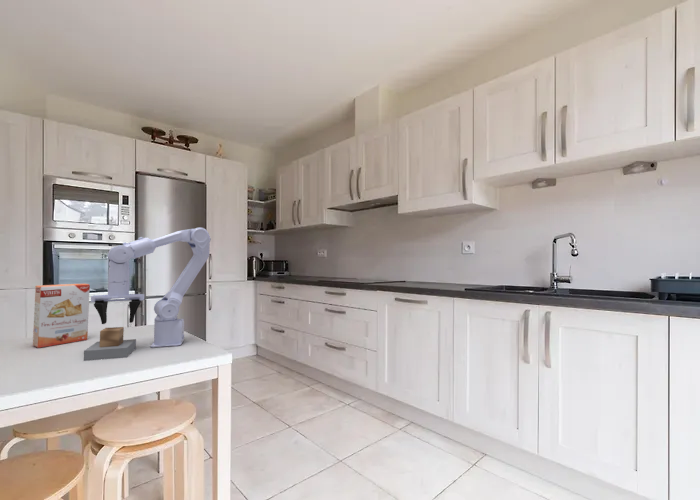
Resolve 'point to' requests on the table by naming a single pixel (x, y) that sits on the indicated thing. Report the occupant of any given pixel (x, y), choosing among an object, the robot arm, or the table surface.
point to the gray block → (109, 351)
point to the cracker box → (60, 314)
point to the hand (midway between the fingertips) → (117, 322)
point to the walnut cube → (111, 336)
